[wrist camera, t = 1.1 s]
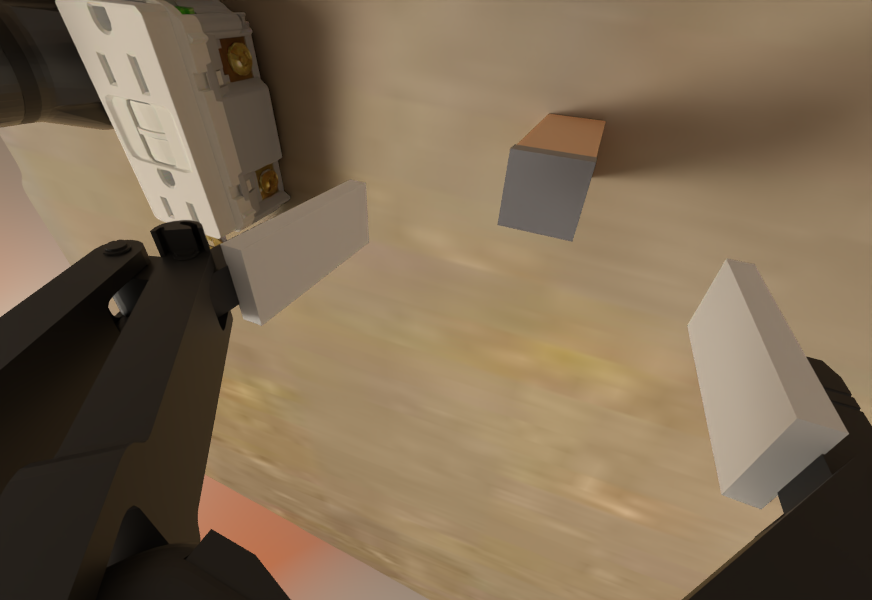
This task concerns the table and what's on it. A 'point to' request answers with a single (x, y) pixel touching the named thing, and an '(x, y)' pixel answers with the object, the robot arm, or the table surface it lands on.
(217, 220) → the electrical outlet
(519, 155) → the copper brown rectangular block
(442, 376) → the table surface
